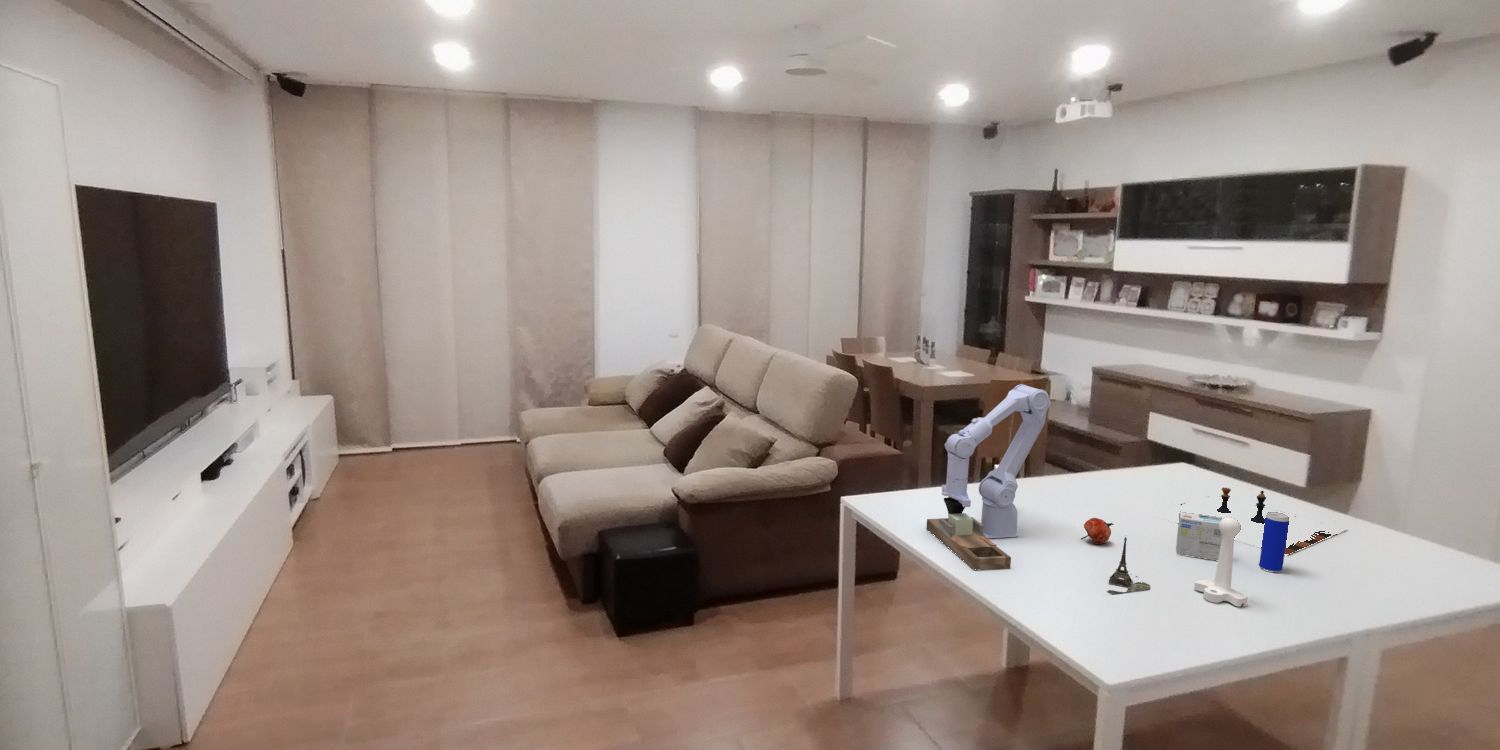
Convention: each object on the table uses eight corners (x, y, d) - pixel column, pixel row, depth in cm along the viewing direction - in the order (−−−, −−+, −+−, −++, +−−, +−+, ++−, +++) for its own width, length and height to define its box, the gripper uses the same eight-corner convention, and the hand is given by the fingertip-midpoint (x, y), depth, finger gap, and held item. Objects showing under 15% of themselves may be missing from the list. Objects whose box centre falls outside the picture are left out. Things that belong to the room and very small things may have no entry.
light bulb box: (1218, 554, 223) (1223, 516, 221) (1220, 562, 217) (1225, 523, 215) (1174, 547, 227) (1178, 510, 226) (1175, 555, 221) (1180, 517, 220)
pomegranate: (1082, 552, 228) (1114, 538, 222) (1069, 528, 230) (1100, 513, 225) (1091, 548, 233) (1123, 534, 228) (1078, 524, 236) (1109, 510, 230)
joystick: (1249, 604, 191) (1260, 523, 188) (1231, 611, 187) (1241, 528, 184) (1203, 586, 201) (1213, 509, 197) (1185, 592, 197) (1194, 513, 194)
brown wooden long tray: (958, 527, 239) (959, 507, 238) (1010, 568, 209) (1012, 546, 208) (926, 528, 237) (927, 509, 236) (974, 570, 207) (975, 548, 206)
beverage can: (1278, 567, 214) (1286, 512, 212) (1284, 574, 210) (1292, 519, 207) (1256, 564, 216) (1263, 510, 214) (1261, 571, 211) (1269, 516, 209)
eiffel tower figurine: (1111, 597, 194) (1117, 544, 192) (1082, 580, 204) (1087, 529, 202) (1161, 590, 199) (1167, 538, 197) (1130, 574, 209) (1135, 524, 206)
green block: (964, 528, 229) (965, 513, 228) (971, 534, 224) (973, 519, 223) (947, 529, 228) (948, 513, 227) (955, 535, 223) (956, 519, 223)
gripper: (933, 470, 234) (930, 515, 236) (954, 485, 220) (951, 533, 222) (956, 469, 235) (953, 514, 237) (979, 484, 221) (975, 532, 223)
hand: (954, 523), depth 230 cm, fingers closed
